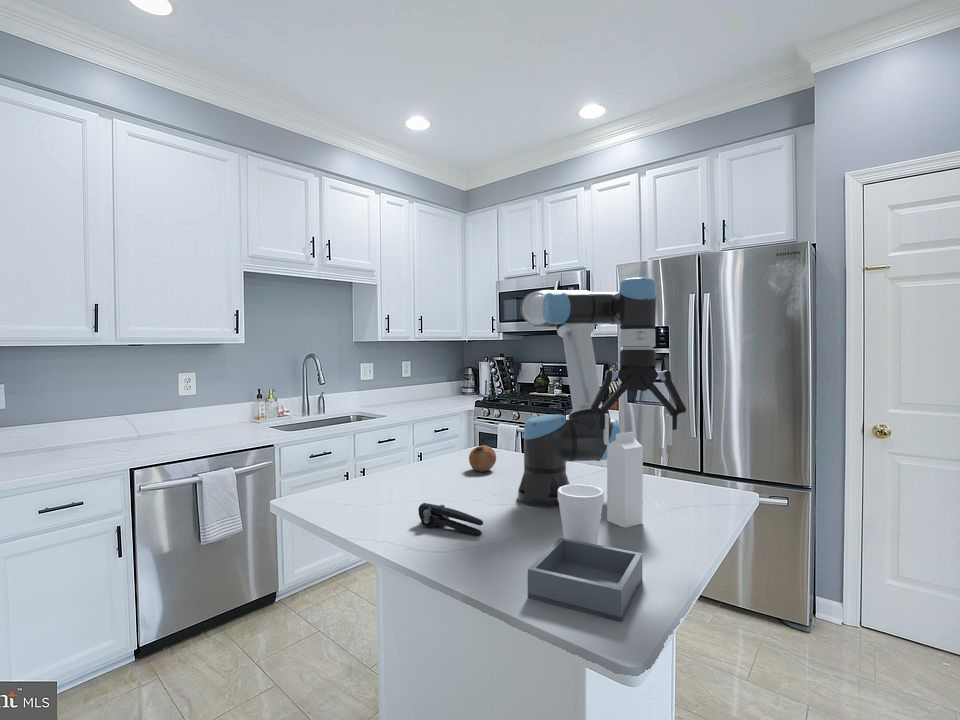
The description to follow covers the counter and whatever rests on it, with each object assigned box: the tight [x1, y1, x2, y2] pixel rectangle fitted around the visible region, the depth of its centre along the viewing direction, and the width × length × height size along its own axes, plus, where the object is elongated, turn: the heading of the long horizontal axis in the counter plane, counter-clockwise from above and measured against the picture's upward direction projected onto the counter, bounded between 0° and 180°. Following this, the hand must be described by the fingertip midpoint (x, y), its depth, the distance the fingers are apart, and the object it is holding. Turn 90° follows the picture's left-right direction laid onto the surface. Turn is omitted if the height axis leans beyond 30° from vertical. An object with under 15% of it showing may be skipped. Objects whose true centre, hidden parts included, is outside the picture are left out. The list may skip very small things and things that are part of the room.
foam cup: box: [558, 483, 605, 545], centre depth 106 cm, size 10×9×13 cm
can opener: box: [417, 502, 484, 537], centre depth 120 cm, size 18×7×6 cm, turn 59°
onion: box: [468, 444, 497, 473], centre depth 175 cm, size 10×9×10 cm
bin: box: [527, 537, 643, 623], centre depth 90 cm, size 16×16×5 cm
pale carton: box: [606, 431, 644, 529], centre depth 123 cm, size 6×6×22 cm
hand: (637, 444), depth 113 cm, fingers open, 13 cm apart
